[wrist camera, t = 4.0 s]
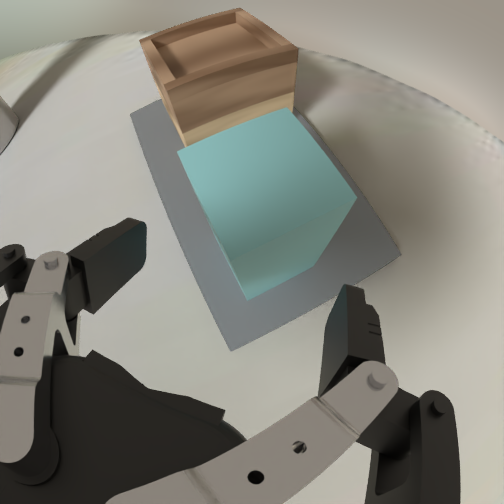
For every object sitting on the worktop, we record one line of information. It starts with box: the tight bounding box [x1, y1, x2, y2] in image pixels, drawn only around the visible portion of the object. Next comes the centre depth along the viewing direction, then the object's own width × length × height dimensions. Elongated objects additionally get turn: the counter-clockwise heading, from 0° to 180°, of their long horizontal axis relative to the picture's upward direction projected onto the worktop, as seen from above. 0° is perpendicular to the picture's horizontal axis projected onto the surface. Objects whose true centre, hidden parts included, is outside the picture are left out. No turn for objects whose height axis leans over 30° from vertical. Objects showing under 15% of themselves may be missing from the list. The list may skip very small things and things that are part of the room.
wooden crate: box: [139, 8, 298, 147], centre depth 20 cm, size 9×9×8 cm
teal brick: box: [177, 107, 357, 301], centre depth 15 cm, size 5×5×10 cm
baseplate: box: [130, 99, 401, 351], centre depth 22 cm, size 24×14×1 cm, turn 27°
